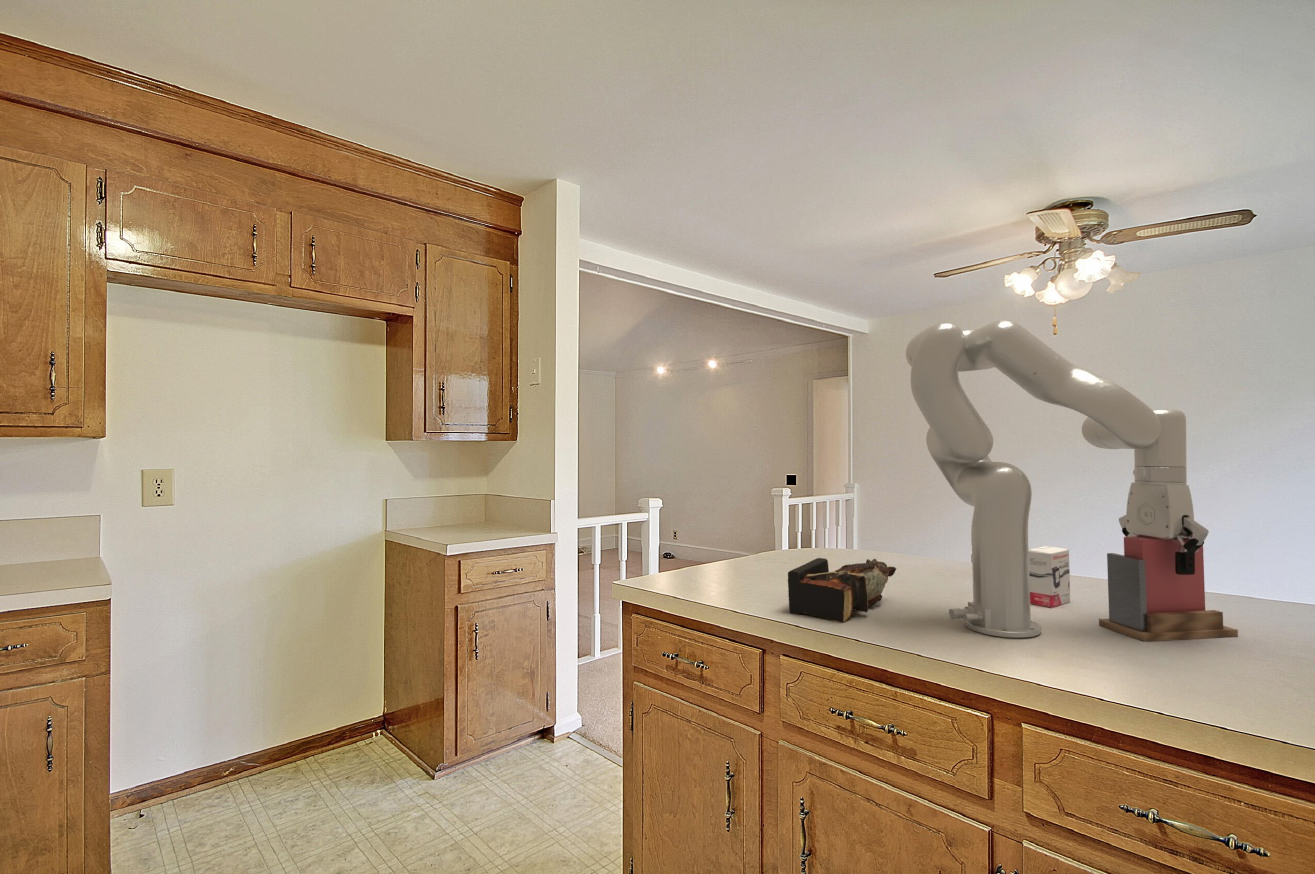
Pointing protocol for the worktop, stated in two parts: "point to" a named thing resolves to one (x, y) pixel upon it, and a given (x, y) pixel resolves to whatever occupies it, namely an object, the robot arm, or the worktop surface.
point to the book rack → (1178, 626)
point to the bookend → (836, 588)
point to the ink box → (1049, 576)
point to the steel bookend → (1127, 591)
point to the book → (1167, 576)
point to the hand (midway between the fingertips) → (1160, 568)
